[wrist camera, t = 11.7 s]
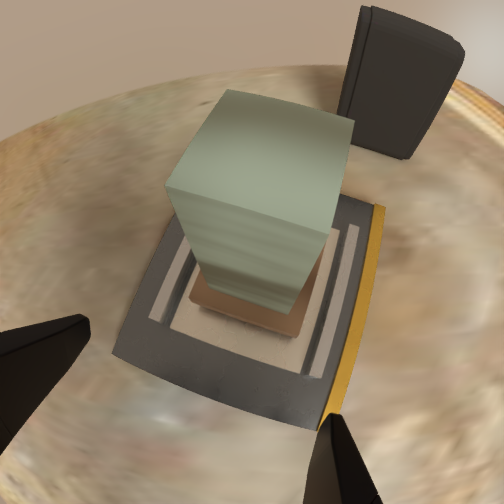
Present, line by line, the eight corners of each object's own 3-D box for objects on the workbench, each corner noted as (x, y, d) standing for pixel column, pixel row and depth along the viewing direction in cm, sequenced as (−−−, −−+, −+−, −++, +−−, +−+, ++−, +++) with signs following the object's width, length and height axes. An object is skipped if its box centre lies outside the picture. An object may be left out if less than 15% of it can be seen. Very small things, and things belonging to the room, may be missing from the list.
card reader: (408, 142, 30) (459, 36, 16) (410, 167, 28) (472, 55, 14) (333, 118, 31) (361, -1, 17) (329, 142, 29) (361, 12, 16)
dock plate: (323, 429, 19) (335, 438, 16) (122, 356, 21) (102, 351, 18) (376, 220, 26) (390, 199, 22) (208, 170, 28) (203, 144, 25)
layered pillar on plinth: (293, 340, 20) (356, 279, 8) (195, 306, 20) (122, 204, 9) (321, 249, 22) (381, 114, 10) (231, 220, 23) (214, 73, 11)
